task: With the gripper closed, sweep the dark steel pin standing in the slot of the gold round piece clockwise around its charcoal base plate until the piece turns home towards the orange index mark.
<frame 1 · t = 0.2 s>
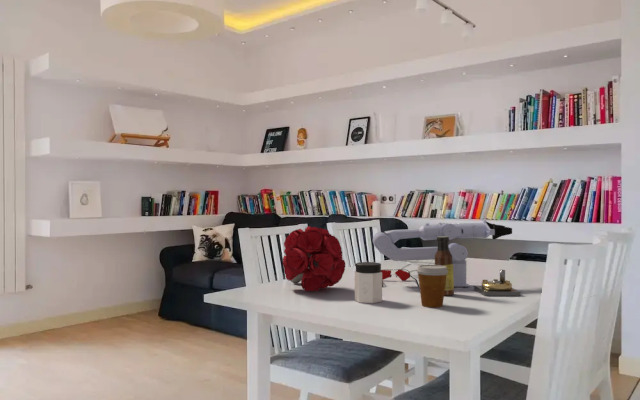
hand: (508, 229, 193), 21 cm above the table, tool horizontal, fingers open, 7 cm apart
disposable coffee cup: (432, 306, 158), on the table
bouquet: (310, 289, 187), on the table
sauce bottle: (444, 295, 176), on the table
base plate: (496, 292, 179), on the table
gold round piece: (496, 279, 179), point 5 cm above the table, hinge at 0.0°
glasses: (396, 285, 198), on the table
jar: (368, 301, 165), on the table
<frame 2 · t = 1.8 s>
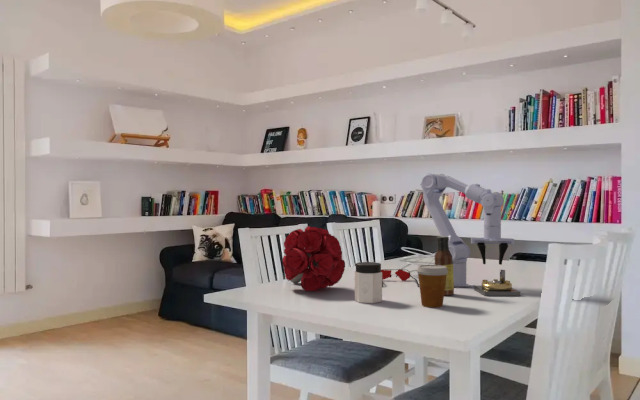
hand: (492, 264, 183), 9 cm above the table, tool pointing down, fingers open, 5 cm apart
nothing on the table moved.
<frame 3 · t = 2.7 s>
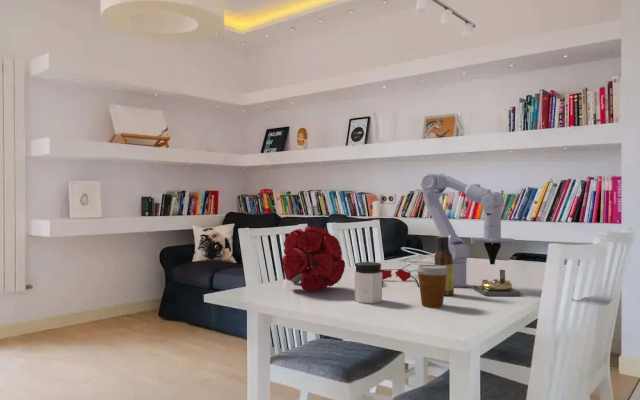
hand: (492, 264, 183), 9 cm above the table, tool pointing down, fingers closed
nothing on the table moved.
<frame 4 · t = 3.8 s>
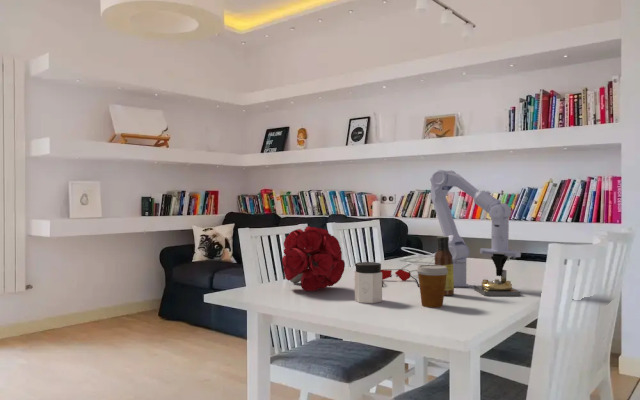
hand: (499, 275, 182), 5 cm above the table, tool pointing down, fingers closed, pressing on gold round piece
gold round piece: (496, 279, 179), point 5 cm above the table, hinge at 6.2°, touching gripper
everything else where it was.
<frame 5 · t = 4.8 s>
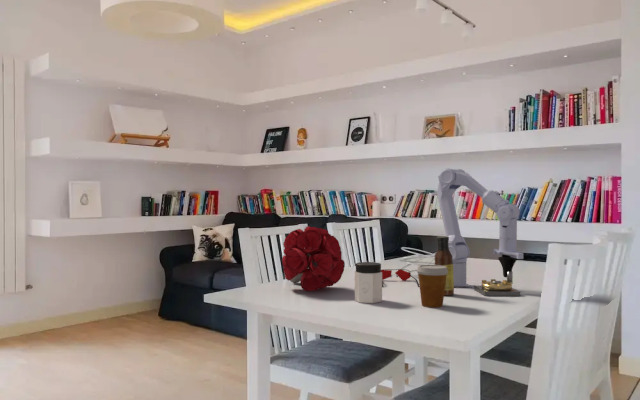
hand: (507, 277, 180), 5 cm above the table, tool pointing down, fingers closed, pressing on gold round piece
gold round piece: (497, 279, 178), point 5 cm above the table, hinge at 48.8°, touching gripper
everything else where it was.
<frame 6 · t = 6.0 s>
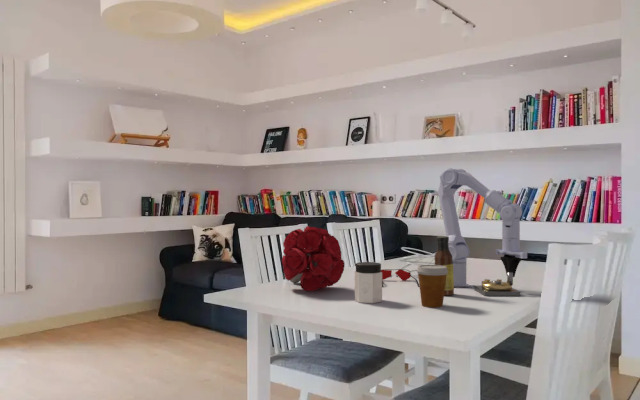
hand: (510, 277, 179), 5 cm above the table, tool pointing down, fingers closed
gold round piece: (497, 279, 178), point 5 cm above the table, hinge at 76.1°
everything else where it was.
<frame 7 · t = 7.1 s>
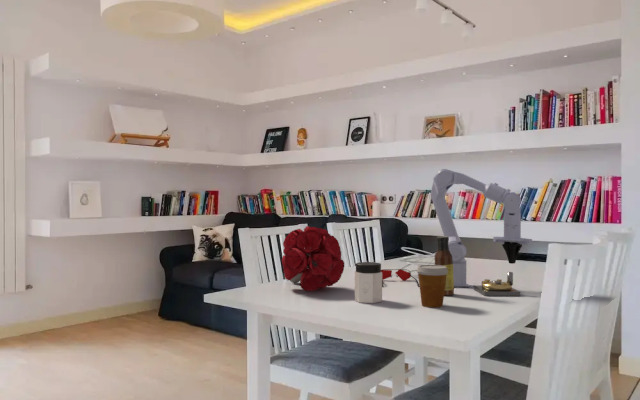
hand: (512, 263, 185), 9 cm above the table, tool pointing down, fingers closed
nothing on the table moved.
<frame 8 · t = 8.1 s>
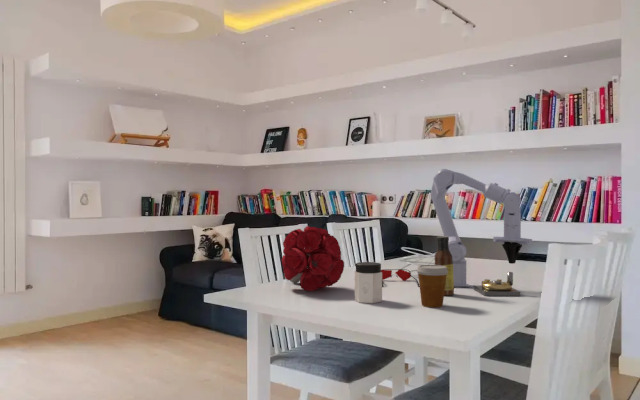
hand: (512, 263, 185), 9 cm above the table, tool pointing down, fingers closed
nothing on the table moved.
at the end: gold round piece at +76° (first picture: +0°); sauce bottle moved 0.2 cm from its start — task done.
